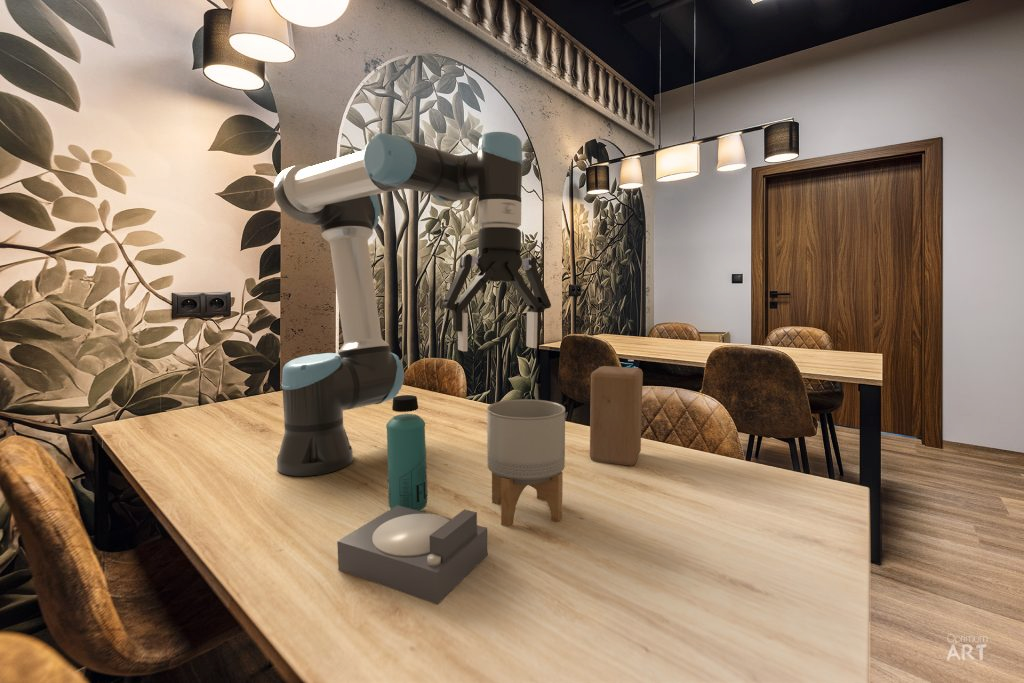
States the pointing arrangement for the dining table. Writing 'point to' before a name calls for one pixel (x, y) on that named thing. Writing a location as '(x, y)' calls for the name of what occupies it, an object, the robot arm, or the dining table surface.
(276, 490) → the dining table surface
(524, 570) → the dining table surface
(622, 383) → the wooden block
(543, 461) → the planter
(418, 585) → the domed button base
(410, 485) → the beverage bottle
